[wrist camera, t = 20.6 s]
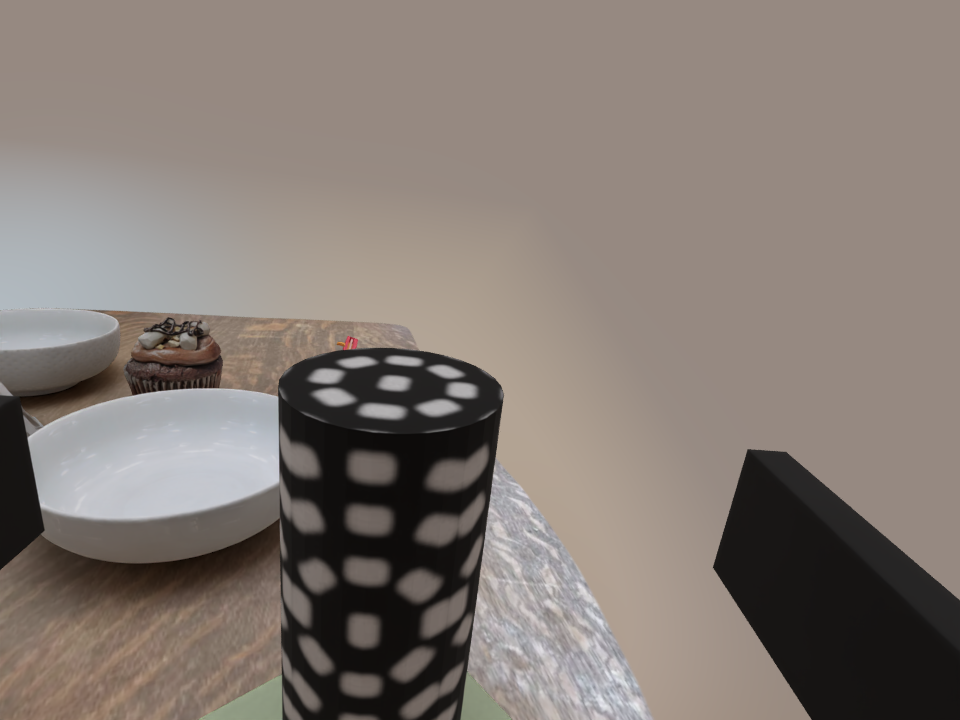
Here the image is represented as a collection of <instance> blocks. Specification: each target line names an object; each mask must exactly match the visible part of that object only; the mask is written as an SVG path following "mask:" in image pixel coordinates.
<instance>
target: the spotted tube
mask: <svg viewBox="0 0 960 720" xmlns="http://www.w3.org/2000/svg"><path fill="white" fill-rule="evenodd" d="M503 397H504V394H503V390H502V387H501V385H500V384H499V383H498V382H497V381H496V379H495V378H493V377H492V376H491V375H489V374H488V373H487V372H485V371H484V370H482V369H480V368H478V367H476V366H474V365H471V364H469V363H466V362H464V361H461V360H458V359H455V358H451V357H448V356H444V355H439V354H435V353H430V352H424V351H417V350H410V349H397V348H360V349H349V350H340V351H334V352H329V353H325V354H320V355H317V356H314V357H311V358H307V359H305V360H303V361H301V362H299V363H297V364H294V365H293V366H292V367H290V368H289V369H288V370H286V371H285V372H284V374H283V375H282V376H281V378H280V379H279V386H278V414H279V492H280V571H281V649H282V720H461V713H462V705H463V698H464V690H465V683H466V675H467V668H468V660H469V653H470V645H471V638H472V630H473V623H474V615H475V608H476V600H477V593H478V585H479V578H480V570H481V562H482V555H483V547H484V540H485V532H486V525H487V517H488V510H489V502H490V495H491V487H492V480H493V472H494V465H495V457H496V450H497V441H498V435H499V427H500V418H501V412H502V404H503Z"/></svg>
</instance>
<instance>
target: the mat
mask: <svg viewBox="0 0 960 720" xmlns="http://www.w3.org/2000/svg"><path fill="white" fill-rule="evenodd" d="M198 720H282V674H281V675H279V676H277V677H276V678H274V679H272V680H270V681H268V682H266V683H265V684H263V685H261V686H259V687H257V688H255V689H254V690H252V691H250V692H248V693H246V694H244V695H242V696H241V697H239V698H237V699H235V700H233V701H231V702H230V703H228V704H226V705H224V706H222V707H220V708H218V709H217V710H215V711H213V712H211V713H209V714H207V715H206V716H204V717H202V718H200V719H198ZM461 720H512V719H511V718H510V717H509V716H508V715H507V713H506V712H505V711H504V710H503V709H502V708H501V707H500V706H499V705H498V704H497V703H496V702H495V701H494V700H493V699H492V698H491V697H490V695H489V694H488V693H487V692H486V691H485V690H484V689H483V688H482V687H481V686H480V685H479V684H478V683H477V682H476V681H475V680H474V679H473V678H472V676H471V675H470V674H469V673H468V672H467V675H466V683H465V690H464V698H463V705H462V713H461Z"/></svg>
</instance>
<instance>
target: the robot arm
mask: <svg viewBox="0 0 960 720" xmlns="http://www.w3.org/2000/svg"><path fill="white" fill-rule="evenodd" d="M44 531H45V529H44V523H43V518H42V513H41V507H40V502H39V497H38V491H37V486H36V481H35V475H34V470H33V465H32V459H31V454H30V449H29V443H28V438H27V433H26V428H25V422H24V417H23V412H22V406H21V401H20V396H6V395H0V570H1V569H2V568H3V567H4V566H5V565H6V564H8V563H9V562H10V561H11V560H12V559H13V558H14V557H15V556H17V555H18V554H19V553H20V552H21V551H22V550H23V549H25V548H26V547H27V546H28V545H29V544H30V543H31V542H32V541H34V540H35V539H36V538H37V537H38V536H39V535H40V534H42V533H43V532H44ZM713 568H714V570H715V571H716V573H717V574H718V576H719V577H720V579H721V581H722V582H723V584H724V585H725V587H726V588H727V590H728V591H729V593H730V594H731V596H732V597H733V599H734V601H735V602H736V603H737V605H738V607H739V608H740V610H741V611H742V613H743V614H744V616H745V618H746V619H747V621H748V622H749V624H750V625H751V627H752V628H753V630H754V631H755V633H756V635H757V636H758V638H759V639H760V641H761V642H762V644H763V645H764V647H765V648H766V650H767V651H768V653H769V654H770V656H771V658H772V659H773V661H774V662H775V664H776V665H777V667H778V668H779V670H780V671H781V673H782V674H783V676H784V678H785V679H786V681H787V682H788V684H789V685H790V687H791V688H792V690H793V692H794V693H795V695H796V696H797V697H798V699H799V701H800V702H801V704H802V705H803V707H804V708H805V710H806V712H807V713H808V715H809V716H810V718H811V719H812V720H960V600H959V599H958V598H956V597H955V596H954V595H953V594H952V593H951V592H949V591H948V590H947V589H946V588H945V587H944V586H942V585H941V584H940V583H939V582H938V581H936V580H935V579H934V578H933V577H931V575H929V574H928V573H927V572H926V571H925V570H924V569H922V568H921V567H920V566H919V565H918V564H917V563H915V562H914V561H913V560H912V559H911V558H910V557H908V556H907V555H906V554H905V553H904V552H903V551H901V550H900V549H899V548H898V547H897V546H896V545H894V544H893V543H892V542H891V541H890V540H888V539H887V538H886V537H885V536H884V535H883V534H881V533H880V532H879V531H878V530H877V529H875V528H874V527H873V526H872V525H871V524H870V523H868V522H867V521H866V520H865V519H864V518H863V517H862V516H860V515H859V514H858V513H857V512H856V511H854V510H853V509H852V508H851V507H850V506H849V505H847V504H846V503H845V502H844V501H843V500H842V499H840V498H839V497H838V496H837V495H836V494H835V493H833V492H832V491H831V490H830V489H829V488H828V487H826V486H825V485H824V484H823V483H822V482H820V481H819V480H818V479H817V478H816V477H815V476H813V475H812V474H811V473H810V472H809V471H808V470H806V469H805V468H804V467H803V466H802V465H801V464H799V463H798V462H797V461H796V460H795V459H793V458H792V457H791V456H790V455H789V454H788V453H787V452H778V451H764V450H751V449H748V450H747V454H746V457H745V461H744V464H743V467H742V471H741V474H740V478H739V481H738V485H737V488H736V491H735V495H734V498H733V501H732V505H731V509H730V511H729V515H728V518H727V522H726V525H725V528H724V532H723V535H722V539H721V542H720V545H719V549H718V552H717V556H716V559H715V562H714V566H713Z"/></svg>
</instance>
